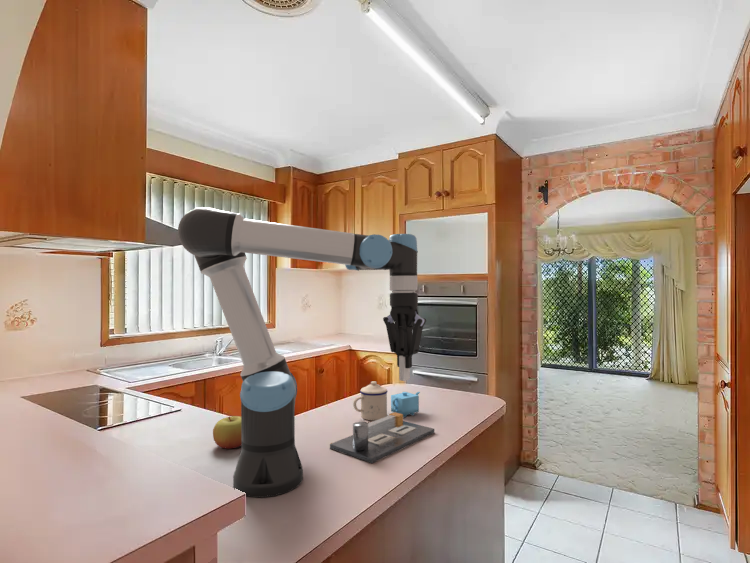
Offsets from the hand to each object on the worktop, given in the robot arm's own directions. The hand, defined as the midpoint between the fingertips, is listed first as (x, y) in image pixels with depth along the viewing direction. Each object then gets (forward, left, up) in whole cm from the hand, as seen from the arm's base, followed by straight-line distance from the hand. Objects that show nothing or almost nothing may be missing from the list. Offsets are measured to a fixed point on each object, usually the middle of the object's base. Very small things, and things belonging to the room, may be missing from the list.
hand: (404, 379), depth 115 cm
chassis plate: (+1, +8, -18) cm, 20 cm away
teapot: (+25, +18, -19) cm, 36 cm away
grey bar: (-3, +7, -17) cm, 18 cm away
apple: (-29, +38, -19) cm, 51 cm away
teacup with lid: (+14, +25, -19) cm, 34 cm away
